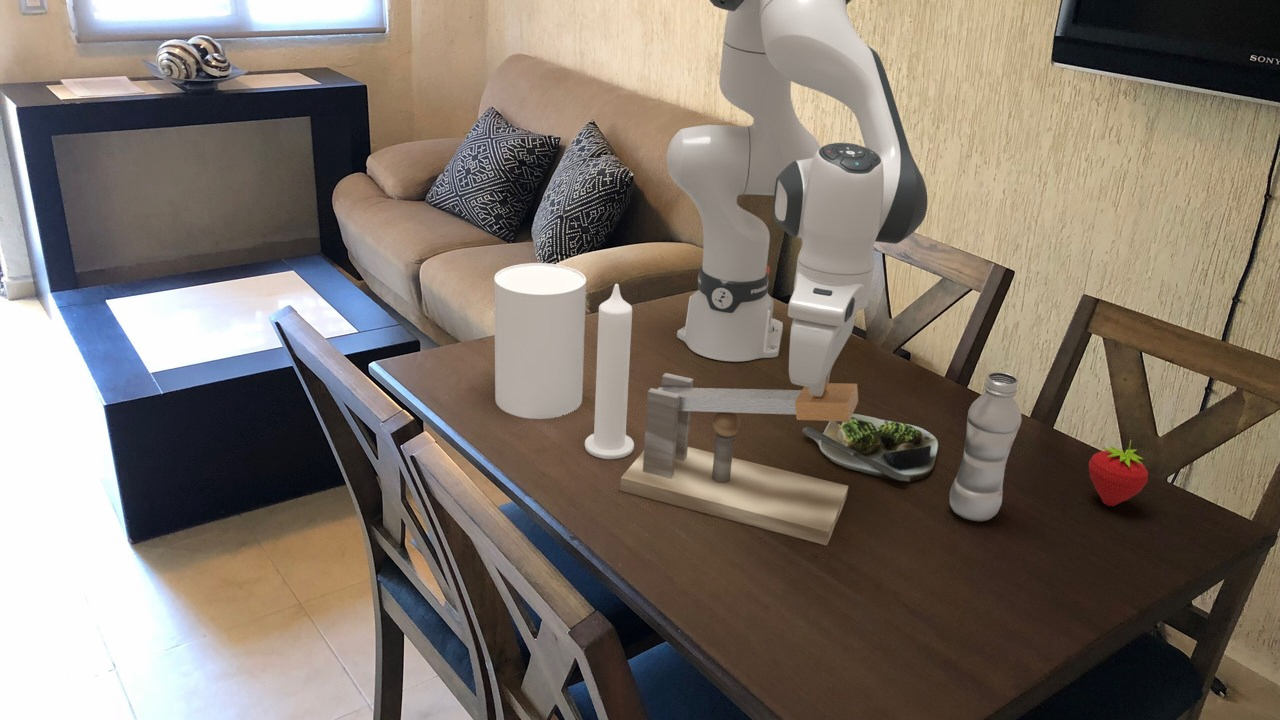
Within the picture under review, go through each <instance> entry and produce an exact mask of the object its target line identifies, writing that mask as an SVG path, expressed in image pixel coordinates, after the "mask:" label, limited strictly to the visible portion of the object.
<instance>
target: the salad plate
mask: <svg viewBox="0 0 1280 720" xmlns="http://www.w3.org/2000/svg"><path fill="white" fill-rule="evenodd" d="M802 433H803V434H804V435H806V436H807V437H809V438H811V440H813V441H815V442H816V443H817V445H818V447H819V450H820V452H821V453H822V454H823V455H824V456H825V457H826V458H828V459H829V460H830V461H831V462H833V463H834V464H836V465H839V466H841V467H843V468H846V469H847V470H852V471H856V472H859V471H860V473H862V474H863V473H864V474H867V475H871V476H875V477H877V476H878V477H879V478H882V479H885V478H886V479H885V480H889V479H890V481H894V480H895V481H896V482H913V480H915V481H918V480H917V479H919V480H922V479H924V478H925V476H926V477H927V476H928V475H929V474H930V473H931V471H932V470H933V469H934V467H935V464H936V458H937V456H938V453H939V448H940V444H939V440H938V438H936V436H935V435H933V434H932V433H931V432H930V431H928V430H925V428H922V427H920V426H916V425H912V424H907V423H905V422H904V423H903V422H896V421H891V420H886V419H881V418H877V417H872V416H869V415H868V416H867V415H862V414H857V413H853V414H852V416H851V418H850V420H849V421H828V424H827V425H826V427H825V429H824V432H821V431H819V430H817V429H815V428H813V427H810V426H805V427H803V429H802ZM889 450H890V451H889ZM923 477H924V478H923ZM921 478H922V479H921ZM895 481H894V482H895Z"/></svg>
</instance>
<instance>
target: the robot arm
mask: <svg viewBox="0 0 1280 720" xmlns="http://www.w3.org/2000/svg"><path fill="white" fill-rule="evenodd" d="M709 1H710V3H711V4H712V5H713V7H716V8H717V9H722V10H724V11H727V14H726V18H725V26H724V33H723V41H722V51H721V59H720V60H721V61H720V71H719V81H718V82H719V83H718V84H719V89H720V91H721V94H722V95H723V97H724V98H725V99H726V100H727V101H728V102H729V103H730V104H732V105H733V106H735V107H736V108H738V109H739V110H741V111H743V112H745V113H747V114H748V115H750V117H752V118H753V122H752V124H751V125H747V126H741V125H739V126H737V125H722V124H721V125H719V124H703V125H695V126H690V127H684V128H681V129H680V130H678V131H677V132H676V133H675V134H674V136H673V137H672V138H671V140H670V142H669V144H668V147H667V151H666V158H665V160H666V167H667V171H668V174H669V176H670V178H671V179H672V181H673V183H674V184H675V185H677V187H679V189H681V190H682V191H683V192H684V193H685V194H686V195H687V196H688V197H689V198H690V200H691V201H692V202H693V203H694V205H695V207H696V209H697V211H698V212H699V216H700V218H701V219H700V220H701V223H702V229H703V230H702V231H703V234H702V235H703V251H702V252H703V253H702V254H703V255H702V264H701V265H702V266H700V268H699V273H698V275H697V282H698V283H697V288H698V290H697V291H695V292H694V293H692V294H691V295H690V296H689V299H688V305H687V313H686V320H685V326H683V327H682V328H680V329H678V330H677V332H676V337H677V338H678V339H680V340H681V341H683V342H684V343H685V345H687V347H688V348H689V349H690V350H691V351H692V352H693V353H695V354H697V355H700V356H702V357H704V358H708V359H713V360H715V361H716V360H717V361H722V362H746V361H747V362H748V361H753V360H756V359H757V360H758V359H764V358H765V359H767V358H769V359H770V358H777V357H778V356H779V353H780V349H781V344H782V343H781V341H782V335H783V331H784V324H783V323H784V322H783V321H780V320H778V319H776V318H773V314H774V299H773V298H772V297H771V295H770V294H769V293H768V290H769V278H768V277H769V276H770V271H771V268H770V266H769V265H768V258H769V249H770V239H771V237H770V235H771V234H770V231H769V227H768V226H767V225H766V224H765V222H764V221H763V220H762V219H761V218H759V217H758V216H756V215H754V214H753V213H751V212H750V211H747V210H746V209H743V207H741V206H739V204H738V202H737V201H738V196H741V195H756V196H757V195H759V196H760V195H761V196H773V204H772V205H773V206H772V218H773V220H774V222H776V224H777V225H778V226H780V228H781V229H782V230H783V231H784V232H786V233H787V234H788V235H789V236H791V237H792V238H799V239H800V240H801V248H800V251H799V253H798V256H797V262H796V270H795V275H794V284H793V291H792V294H791V296H790V299H789V302H788V309H787V316H788V317H789V318H791V319H792V322H791V326H790V334H789V335H790V336H789V353H788V354H789V355H788V377H789V380H790V383H791V384H793V385H796V386H801V387H804V386H805V387H809V394H810V395H813V396H818V397H821V396H822V395H823V394H824V392H825V390H826V388H827V387H828V383H830V376H831V375H830V374H831V372H832V369H833V366H834V364H835V362H836V360H837V358H838V357H839V355H840V353H841V351H842V350H843V348H844V346H845V344H846V343H847V341H848V340H849V338H850V336H851V335H852V332H853V329H854V325H855V319H856V315H857V312H859V311H862V310H864V309H865V308H867V306H868V305H869V302H870V301H869V300H870V294H871V287H872V281H873V274H874V269H875V259H874V246H875V245H874V244H875V242H877V243H887V244H894V245H895V244H899V243H901V242H902V241H904V240H905V239H907V238H908V237H910V236H911V235H912V234H913V233H914V232H915V231H916V230H917V229H918V228H919V227H920V225H921V224H922V223H923V222H924V220H925V218H926V215H927V211H928V210H927V209H928V191H927V186H926V181H925V179H924V178H923V175H922V173H921V171H920V168H919V167H918V166H917V163H916V161H915V159H914V157H913V155H912V151H911V150H910V145H909V143H908V139H907V135H906V133H905V130H904V126H903V123H902V120H901V116H900V113H899V111H898V106H897V104H896V101H895V97H894V93H893V91H892V87H891V84H890V81H889V78H888V76H887V73H886V70H885V68H884V67H885V66H884V65H883V62H882V60H881V57H880V55H879V54H878V52H877V51H876V50H874V49H873V48H872V47H870V45H867V44H866V43H865V41H864V40H863V39H862V38H861V36H859V34H858V33H857V31H856V29H855V27H854V26H853V24H852V22H851V20H850V17H849V14H848V10H847V9H848V8H847V5H848V4H849V3H850V2H852V0H709ZM792 83H794V84H797V85H799V86H801V87H802V86H803V87H805V88H808V89H811V90H815V91H816V92H819V93H821V94H824V95H827V96H829V97H830V98H833V99H834V100H836V101H839V102H840V103H842V104H843V105H844V106H846V107H847V108H848V110H850V111H851V112H852V113H853V114H854V116H855V118H856V121H857V123H858V127H859V130H860V134H861V136H862V137H861V138H862V140H863V144H864V146H862V145H859V144H856V143H851V142H834V143H828V144H825V145H823V146H821V145H820V143H819V141H818V139H817V138H816V137H815V136H814V134H812V133H811V132H810V131H809V130H807V128H805V126H804V125H803V124H802V122H801V121H800V119H799V118H798V116H797V114H796V112H795V109H794V105H793V102H792V95H791V94H792V92H791V89H792V87H791V86H792Z"/></svg>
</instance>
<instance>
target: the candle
mask: <svg viewBox="0 0 1280 720" xmlns="http://www.w3.org/2000/svg"><path fill="white" fill-rule="evenodd" d="M632 319H633V307H632V305H631V304H630V303H628V302H627V301H626V300H625V299H623V297H622V295H621V290H620V286H619V284H618V283H615V284H614V286H613V289H612V293H611V296H610V297H609V298H608V299H607V300H605V301H603V302H601V303H600V304H599V306H598V324H597V325H598V326H597V346H596V347H597V349H596V350H597V351H596V353H597V354H596V374H595V379H596V380H595V401H594V431H593V432H594V433H591V434H590V435H588V437H586V438H585V441H584V448H585V451H586V452H587V453H588V454H590V455H591V456H593V457H595V458H600V459H604V460H618V459H622V458H625V457H629V455H631V453H632V452H633V451H634V449H635V443H634V440H633V439H632V438H631V437H630V436H629V435H627V434H626V433H627V419H628V418H627V414H628V400H629V399H628V397H629V378H630V376H629V375H630V359H631V358H630V356H631V343H632V342H631V339H632V325H633V323H632V322H633V321H632Z"/></svg>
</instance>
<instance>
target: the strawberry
mask: <svg viewBox="0 0 1280 720" xmlns="http://www.w3.org/2000/svg"><path fill="white" fill-rule="evenodd" d="M1131 445H1132V439H1130V440H1129V445H1128V449H1126V450H1125V452H1124V450H1121V449H1119V448H1117V447H1114V446H1112V445H1109V447H1110V448H1107V447H1102V450H1101V451H1098V452H1097V453H1094V454H1093V455H1092V457H1091V458H1090V460H1089V461H1088V473H1089V478H1090V480H1091V481H1092V484H1093V486H1094V489H1095V490H1096V492H1097V494H1098V495H1099V497H1100V499H1101V501H1102V503H1103V504H1104V505H1105V504H1106V505H1105V506H1107V505H1108V506H1107V507H1110V506H1112V507H1115V506H1116V505H1118V504H1121V503H1122V502H1126V501H1128V500H1129V499H1131V498H1132V497H1134V496H1136V495H1137V494H1139V493H1141V491H1142V489H1144V487H1145V486H1146V485H1147V483H1148V481H1149V479H1148V478H1149V471H1148V470H1147V468H1146V466H1145V465H1144V464H1143V462H1142V461H1140V460H1144V457H1141V456H1139V455H1137V454H1135V452H1136V451H1137V449H1131Z"/></svg>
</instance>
